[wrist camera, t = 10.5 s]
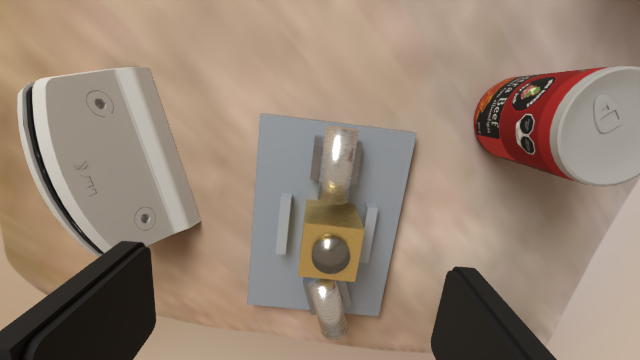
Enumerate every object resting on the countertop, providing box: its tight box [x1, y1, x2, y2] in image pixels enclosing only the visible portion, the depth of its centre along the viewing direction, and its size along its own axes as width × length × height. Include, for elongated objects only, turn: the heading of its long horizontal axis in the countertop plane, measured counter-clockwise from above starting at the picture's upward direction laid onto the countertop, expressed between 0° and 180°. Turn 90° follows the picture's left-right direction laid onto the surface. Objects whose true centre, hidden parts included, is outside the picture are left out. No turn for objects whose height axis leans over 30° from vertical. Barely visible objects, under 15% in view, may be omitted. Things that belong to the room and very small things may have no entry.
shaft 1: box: [310, 126, 363, 205], centre depth 27 cm, size 6×4×6 cm
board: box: [247, 113, 417, 316], centre depth 31 cm, size 21×15×3 cm
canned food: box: [474, 66, 640, 187], centre depth 24 cm, size 8×8×11 cm
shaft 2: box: [303, 277, 352, 339], centre depth 31 cm, size 6×4×6 cm
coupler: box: [298, 199, 365, 282], centre depth 28 cm, size 5×5×7 cm
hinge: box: [18, 67, 201, 257], centre depth 26 cm, size 17×5×10 cm, turn 12°
